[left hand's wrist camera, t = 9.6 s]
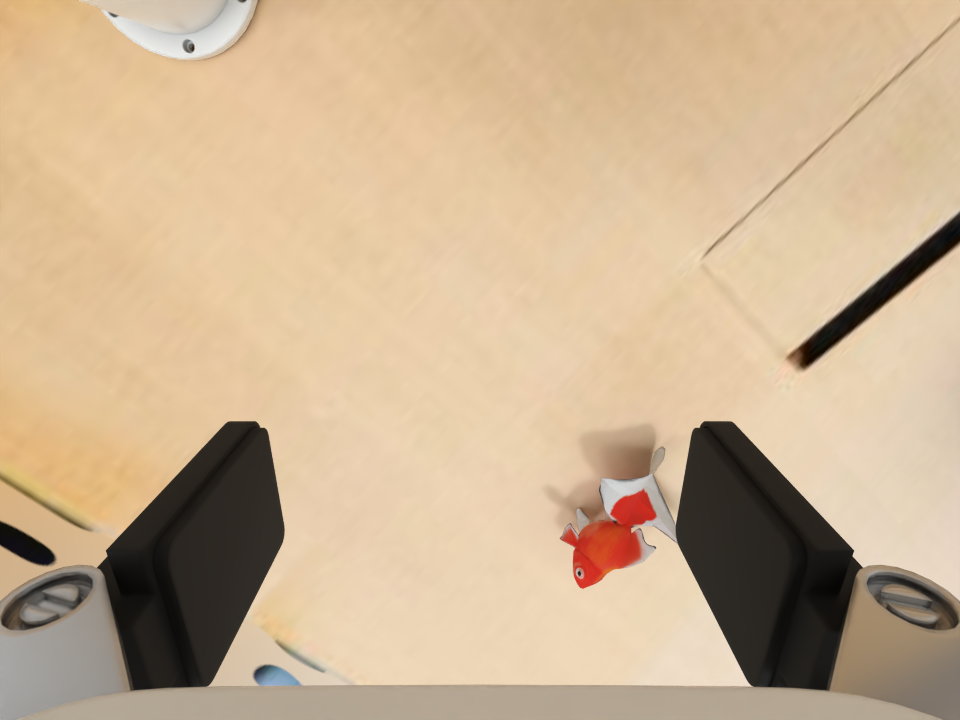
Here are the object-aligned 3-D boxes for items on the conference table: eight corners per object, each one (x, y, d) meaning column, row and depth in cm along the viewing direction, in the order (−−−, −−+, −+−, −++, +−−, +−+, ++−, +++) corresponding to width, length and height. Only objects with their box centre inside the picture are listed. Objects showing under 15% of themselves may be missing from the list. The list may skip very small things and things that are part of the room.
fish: (510, 526, 51) (581, 593, 43) (608, 406, 53) (692, 447, 45) (560, 567, 57) (629, 632, 49) (645, 458, 59) (724, 502, 51)
